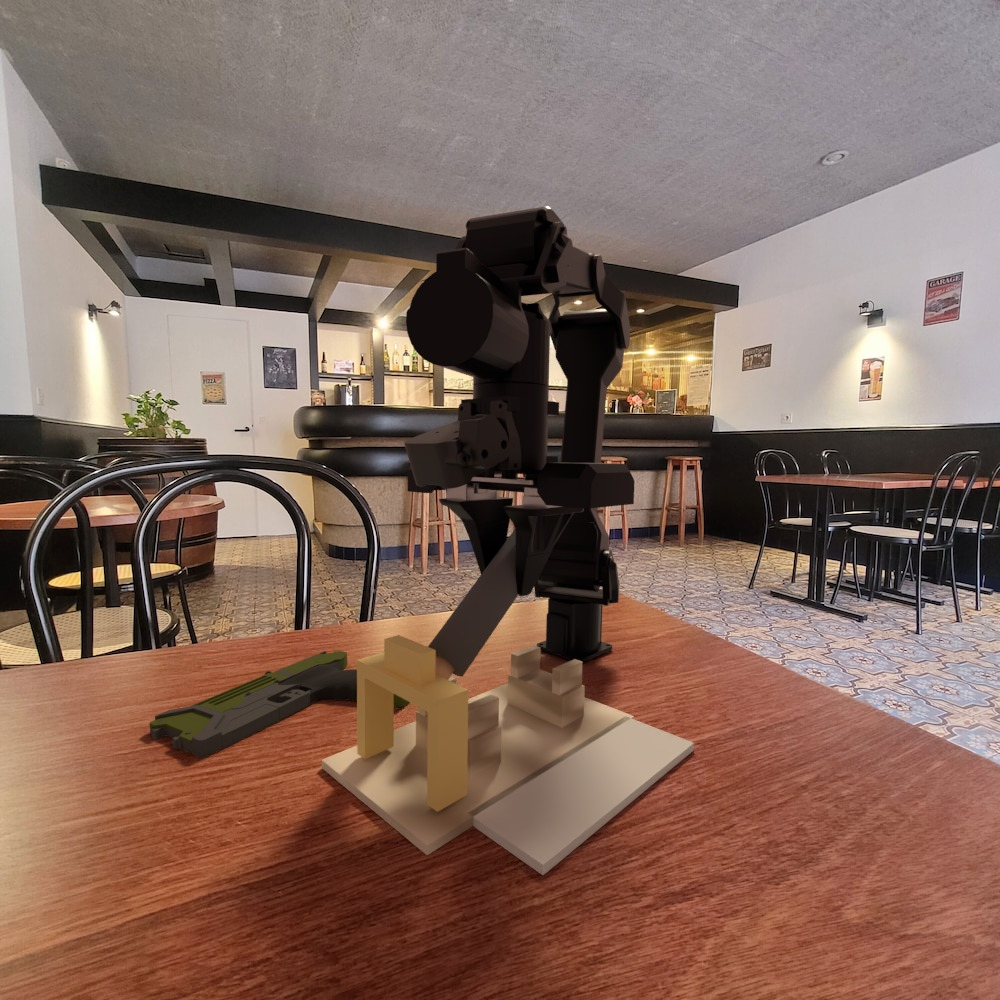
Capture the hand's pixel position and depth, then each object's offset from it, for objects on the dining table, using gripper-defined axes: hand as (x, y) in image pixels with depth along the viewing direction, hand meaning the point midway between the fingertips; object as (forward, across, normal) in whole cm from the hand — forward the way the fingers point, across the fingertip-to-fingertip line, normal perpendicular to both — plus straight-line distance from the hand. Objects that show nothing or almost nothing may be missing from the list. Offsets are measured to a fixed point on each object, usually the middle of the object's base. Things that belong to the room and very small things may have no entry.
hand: (507, 590), depth 43 cm
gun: (+13, -16, -9) cm, 22 cm away
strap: (+12, 0, -9) cm, 15 cm away
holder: (+12, 0, -1) cm, 12 cm away
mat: (+12, +8, 0) cm, 15 cm away
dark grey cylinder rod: (-1, 0, 0) cm, 1 cm away
